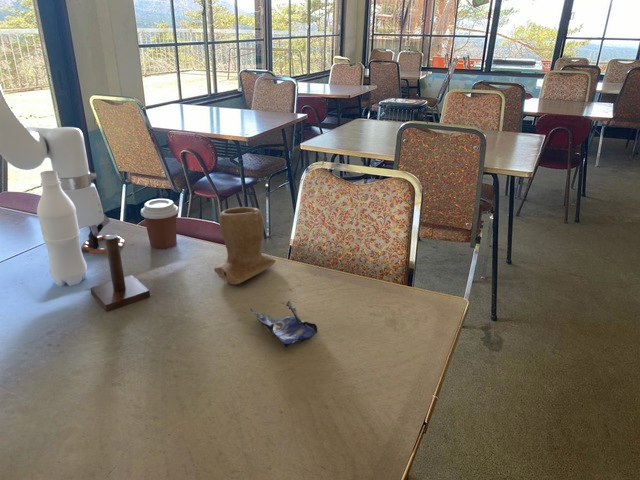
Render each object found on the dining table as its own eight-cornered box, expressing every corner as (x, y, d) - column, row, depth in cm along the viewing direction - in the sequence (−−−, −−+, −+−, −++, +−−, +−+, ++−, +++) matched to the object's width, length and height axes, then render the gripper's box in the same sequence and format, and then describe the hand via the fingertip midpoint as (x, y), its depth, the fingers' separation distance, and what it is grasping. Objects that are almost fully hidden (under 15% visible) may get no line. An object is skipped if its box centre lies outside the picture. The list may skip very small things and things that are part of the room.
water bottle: (96, 280, 107) (76, 171, 97) (66, 293, 102) (41, 179, 91) (76, 271, 110) (54, 165, 100) (46, 284, 105) (20, 173, 95)
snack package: (303, 311, 98) (247, 318, 94) (306, 286, 94) (248, 293, 91) (322, 353, 89) (260, 364, 85) (326, 327, 85) (261, 337, 81)
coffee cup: (189, 242, 127) (185, 199, 122) (169, 256, 119) (164, 211, 114) (159, 237, 129) (154, 195, 124) (137, 251, 121) (131, 206, 116)
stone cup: (245, 253, 122) (243, 197, 116) (282, 266, 116) (281, 207, 110) (200, 275, 110) (195, 214, 104) (238, 291, 104) (235, 227, 98)
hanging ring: (90, 260, 116) (89, 254, 116) (76, 246, 123) (75, 241, 122) (131, 249, 122) (130, 243, 122) (115, 236, 129) (115, 231, 128)
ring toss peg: (107, 311, 96) (96, 250, 90) (91, 294, 102) (79, 235, 96) (150, 296, 101) (142, 238, 96) (132, 280, 107) (124, 225, 102)
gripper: (103, 172, 120) (113, 239, 128) (30, 184, 110) (46, 256, 117) (114, 179, 115) (125, 248, 123) (39, 192, 105) (55, 267, 112)
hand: (86, 251), depth 120 cm, fingers open, 3 cm apart
